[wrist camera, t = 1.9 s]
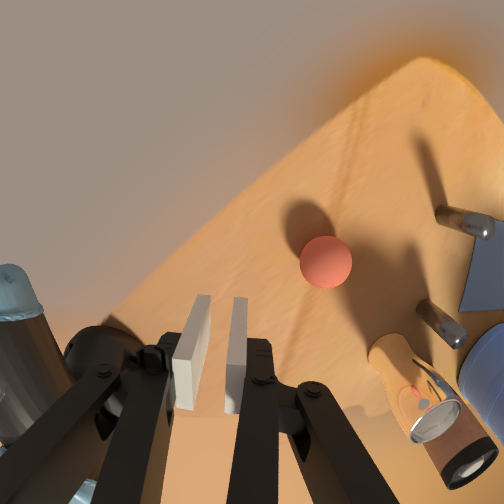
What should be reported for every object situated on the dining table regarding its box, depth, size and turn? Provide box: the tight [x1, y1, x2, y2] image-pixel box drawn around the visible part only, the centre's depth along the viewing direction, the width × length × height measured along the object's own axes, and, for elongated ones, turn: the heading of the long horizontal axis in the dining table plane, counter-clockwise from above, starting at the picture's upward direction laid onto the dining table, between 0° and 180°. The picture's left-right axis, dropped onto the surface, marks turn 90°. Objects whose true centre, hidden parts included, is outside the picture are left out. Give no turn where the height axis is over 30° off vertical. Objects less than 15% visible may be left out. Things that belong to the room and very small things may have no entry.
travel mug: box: [423, 363, 499, 490], centre depth 29 cm, size 8×8×20 cm
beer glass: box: [368, 333, 462, 444], centre depth 30 cm, size 7×7×15 cm
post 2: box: [416, 299, 468, 349], centre depth 31 cm, size 3×3×9 cm
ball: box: [300, 236, 352, 289], centre depth 31 cm, size 6×6×6 cm
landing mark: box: [458, 220, 504, 312], centre depth 34 cm, size 14×14×1 cm
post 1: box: [435, 205, 496, 241], centre depth 28 cm, size 3×3×9 cm
